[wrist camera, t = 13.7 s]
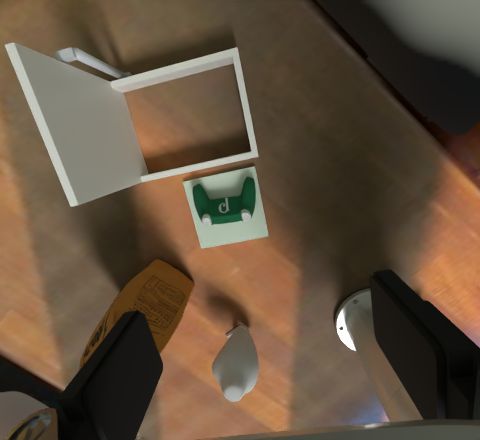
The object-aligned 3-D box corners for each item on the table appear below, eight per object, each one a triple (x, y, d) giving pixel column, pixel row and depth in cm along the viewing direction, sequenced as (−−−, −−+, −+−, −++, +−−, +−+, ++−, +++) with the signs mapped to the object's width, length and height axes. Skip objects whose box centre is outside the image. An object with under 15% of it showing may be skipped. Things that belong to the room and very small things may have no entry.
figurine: (265, 335, 47) (268, 398, 36) (246, 353, 48) (243, 418, 37) (233, 311, 46) (226, 368, 35) (214, 330, 47) (201, 390, 36)
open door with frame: (236, 44, 34) (220, -43, 18) (258, 155, 38) (260, 165, 22) (113, 78, 36) (-3, 27, 20) (145, 180, 40) (70, 206, 24)
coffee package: (116, 294, 46) (1, 421, 25) (159, 248, 43) (68, 349, 22) (160, 328, 48) (85, 474, 27) (204, 286, 45) (158, 413, 24)
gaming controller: (198, 196, 42) (198, 230, 39) (191, 182, 38) (190, 218, 35) (256, 188, 41) (259, 222, 38) (253, 173, 37) (257, 209, 35)
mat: (254, 166, 39) (254, 166, 38) (268, 234, 42) (268, 236, 41) (183, 181, 40) (182, 182, 39) (202, 247, 43) (201, 248, 42)
